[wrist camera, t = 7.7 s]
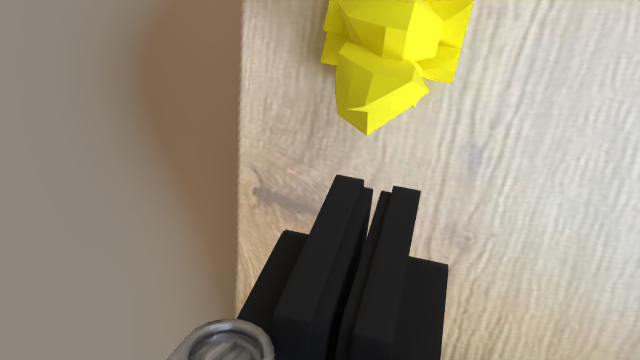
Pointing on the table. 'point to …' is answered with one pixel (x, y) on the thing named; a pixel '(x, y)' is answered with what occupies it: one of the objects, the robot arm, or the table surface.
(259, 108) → the table surface
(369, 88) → the yellow crystal cluster
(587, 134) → the table surface
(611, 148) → the table surface
